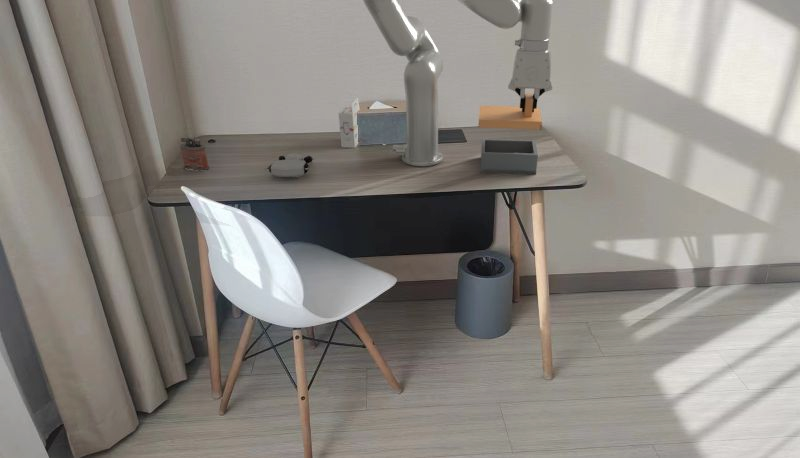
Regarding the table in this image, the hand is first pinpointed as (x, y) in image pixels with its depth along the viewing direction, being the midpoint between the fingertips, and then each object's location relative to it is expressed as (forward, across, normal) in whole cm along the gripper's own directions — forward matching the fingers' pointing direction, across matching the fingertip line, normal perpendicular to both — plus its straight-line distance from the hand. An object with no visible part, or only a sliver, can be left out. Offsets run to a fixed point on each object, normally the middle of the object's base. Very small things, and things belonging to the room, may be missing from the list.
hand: (527, 110), depth 173 cm
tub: (+17, -4, 0) cm, 18 cm away
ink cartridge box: (+18, -55, +15) cm, 60 cm away
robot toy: (+19, -68, -10) cm, 71 cm away
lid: (+3, -5, 0) cm, 6 cm away
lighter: (+19, -98, -10) cm, 101 cm away
